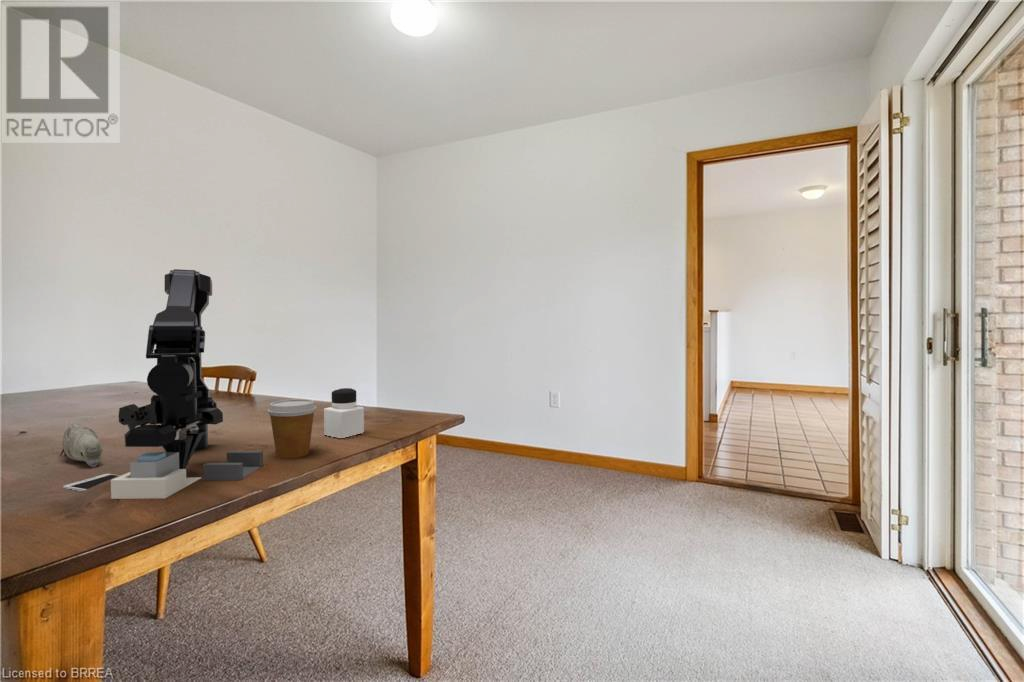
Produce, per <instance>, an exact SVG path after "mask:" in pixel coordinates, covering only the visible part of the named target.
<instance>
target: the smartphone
mask: <svg viewBox="0 0 1024 682" xmlns="http://www.w3.org/2000/svg"><path fill="white" fill-rule="evenodd" d="M119 476H121V475H120V474H119V475H118V474H112V473H103V474H100V475H96V476H94V477H93V476H92V477H89V478H86V479H83V480H79V481H75V482H72V483H68V484H64V485H63V486H62V487H63V488H62V489H64V488H66V489H65V490H68V489H72V490H71V491H74V490H77V491H76V492H80V491H82V492H84V491H86V490H88V489H91V488H93V487H96V486H98V485H101V484H103V483H105V482H107V481H111V480H112V479H115V478H117V477H119Z"/></svg>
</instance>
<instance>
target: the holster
mask: <svg viewBox="0 0 1024 682" xmlns="http://www.w3.org/2000/svg"><path fill="white" fill-rule="evenodd" d="M263 465H264V450H229V451H227V452H226V462H206V463H204V464H202V480H203V481H240V480H242V479H244V478H245V477H247V476H249V475H250V474H252V473H253V472H254V471H256V470H258V469H259V468H261V467H262V466H263Z"/></svg>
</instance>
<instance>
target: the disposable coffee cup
mask: <svg viewBox="0 0 1024 682" xmlns="http://www.w3.org/2000/svg"><path fill="white" fill-rule="evenodd" d="M316 409H317V406H316V405H315V402H314V400H312V399H307V398H306V399H304V398H302V399H301V398H300V399H299V398H297V399H285V400H284V399H283V400H277V401H272V402H270V403H269V408H268V409H267V412H268V415H269V417H270V424H271V429H272V431H271V432H272V436H273V444H274V449H275V456H276V458H278V459H297V458H302V457H305V456H307V455H309V454H310V448H311V441H312V440H311V438H312V430H313V423H314V414H315V412H316Z"/></svg>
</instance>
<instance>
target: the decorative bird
mask: <svg viewBox="0 0 1024 682" xmlns="http://www.w3.org/2000/svg"><path fill="white" fill-rule="evenodd" d="M64 425H65V429H66V430H65V431H64V434H63V438H62V449H61V452H60V454H59V455H58V456H59V457H61V456H62V455H63V453H64V456H65V457H68V458H69V459H70V460H73V461H78V462H79V461H80V462H83V463H84V462H85V463H86V464H87V465H88V466H89V467H90V468H92V469H94V468H93V467H95V468H96V467H97V466H98V464H99V463H100V461H101V456H102V453H103V446H102V443H101V440H99V437H98V435H97V433H96V432H95V431H94V430H93V429H92V428H89V427H84V426H83V424H82V423H80V422H79V421H75V420H70V421H69V422H67V423H65V424H64Z"/></svg>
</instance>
